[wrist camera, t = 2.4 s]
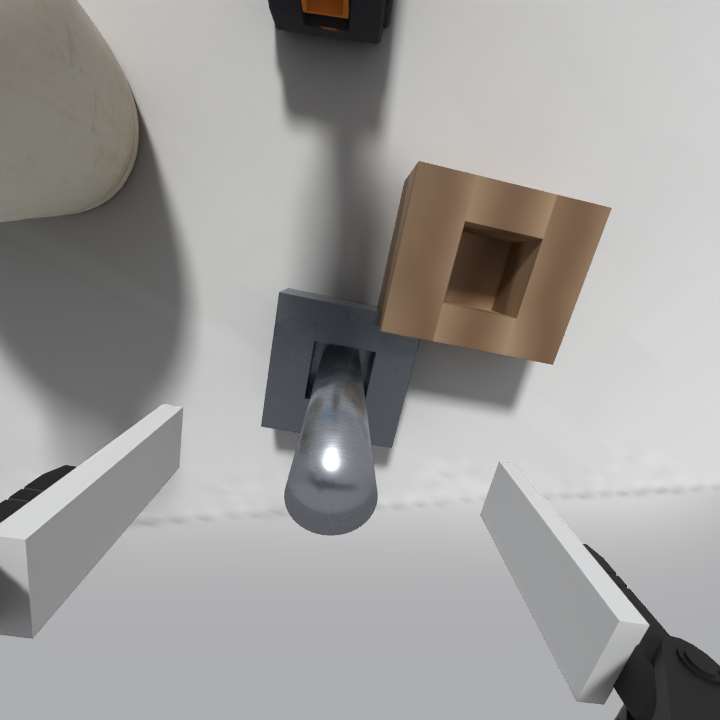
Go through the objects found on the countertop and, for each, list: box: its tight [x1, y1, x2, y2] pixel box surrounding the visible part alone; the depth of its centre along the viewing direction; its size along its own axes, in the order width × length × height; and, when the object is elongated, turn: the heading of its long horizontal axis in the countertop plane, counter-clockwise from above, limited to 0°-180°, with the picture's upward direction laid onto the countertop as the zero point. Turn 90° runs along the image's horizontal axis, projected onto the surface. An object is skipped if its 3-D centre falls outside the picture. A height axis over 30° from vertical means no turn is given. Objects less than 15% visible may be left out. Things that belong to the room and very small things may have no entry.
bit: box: [284, 345, 377, 535], centre depth 19 cm, size 3×3×16 cm
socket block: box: [261, 288, 420, 448], centre depth 26 cm, size 10×10×4 cm
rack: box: [378, 161, 611, 365], centre depth 23 cm, size 12×10×5 cm
